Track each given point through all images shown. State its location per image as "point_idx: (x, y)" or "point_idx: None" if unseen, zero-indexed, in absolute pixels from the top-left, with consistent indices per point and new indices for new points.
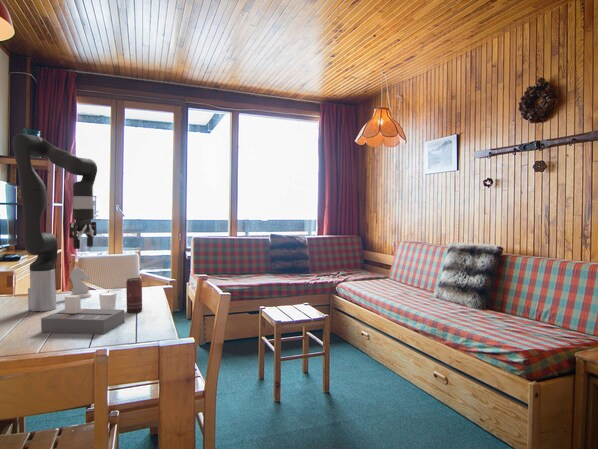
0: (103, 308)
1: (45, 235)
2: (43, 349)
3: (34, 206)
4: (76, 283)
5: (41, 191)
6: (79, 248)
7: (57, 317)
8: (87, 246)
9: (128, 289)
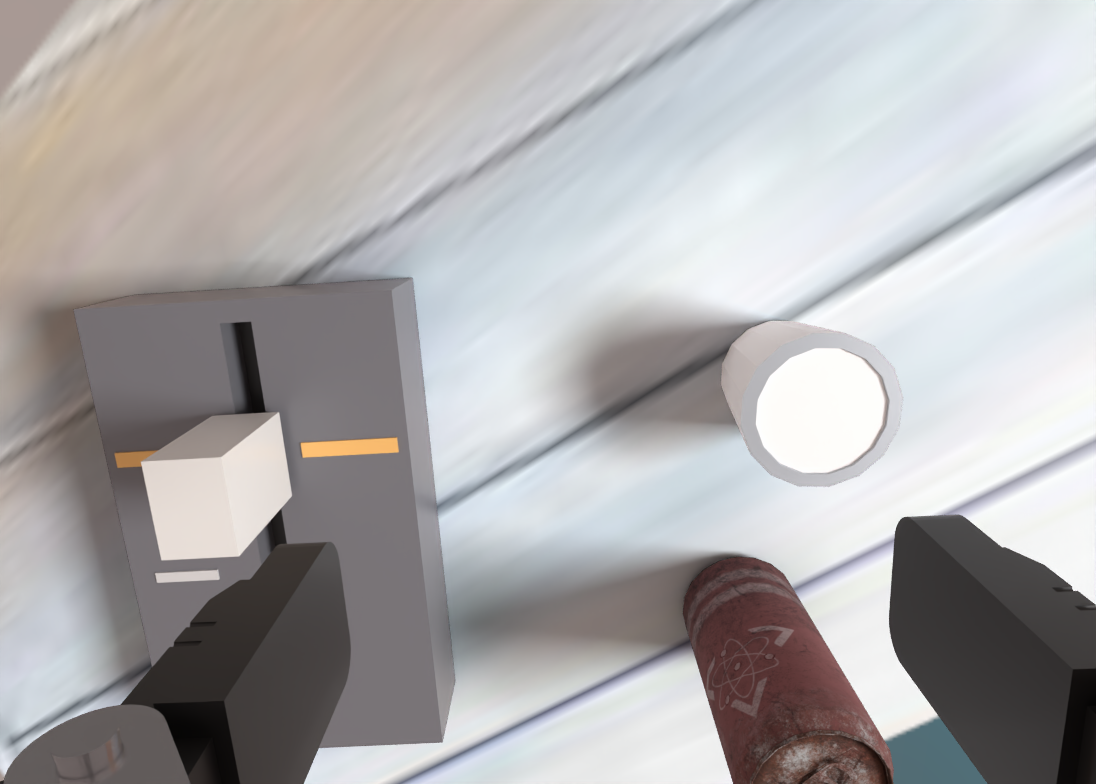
0: (724, 376)
1: None
2: None
3: None
4: None
5: None
6: (340, 664)
7: (132, 414)
8: (898, 523)
9: (723, 707)
